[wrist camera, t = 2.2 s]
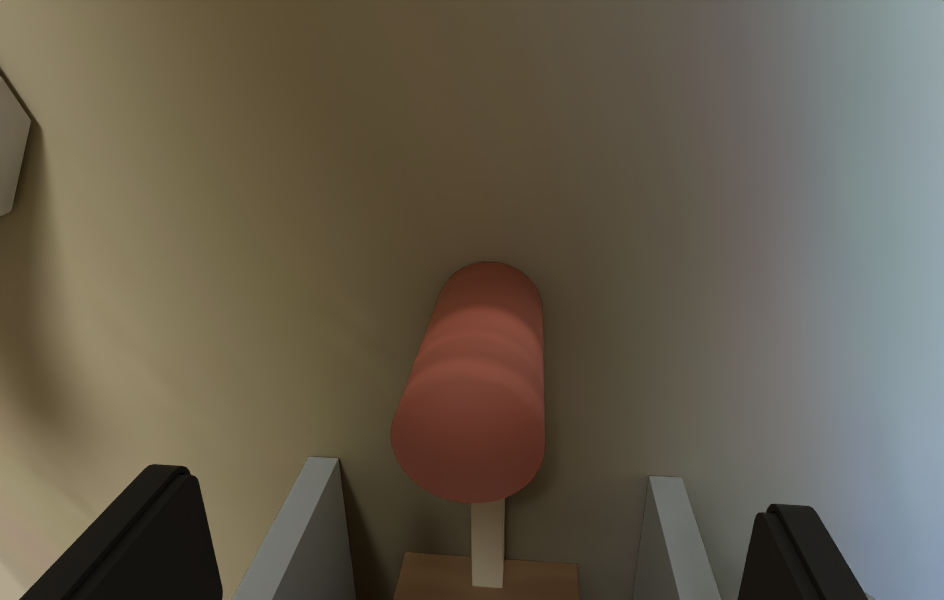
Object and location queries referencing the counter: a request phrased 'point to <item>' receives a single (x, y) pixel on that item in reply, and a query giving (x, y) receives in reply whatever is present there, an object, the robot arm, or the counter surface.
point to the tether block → (478, 433)
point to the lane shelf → (329, 560)
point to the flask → (11, 145)
